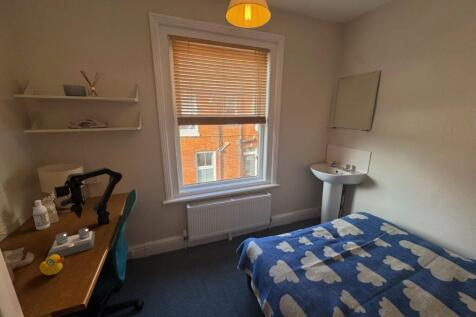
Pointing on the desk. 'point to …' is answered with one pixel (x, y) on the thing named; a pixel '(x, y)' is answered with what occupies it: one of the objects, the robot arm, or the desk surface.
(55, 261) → the duckling
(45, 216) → the bath foam
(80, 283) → the desk surface
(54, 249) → the scale
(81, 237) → the cylinder
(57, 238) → the cylinder
